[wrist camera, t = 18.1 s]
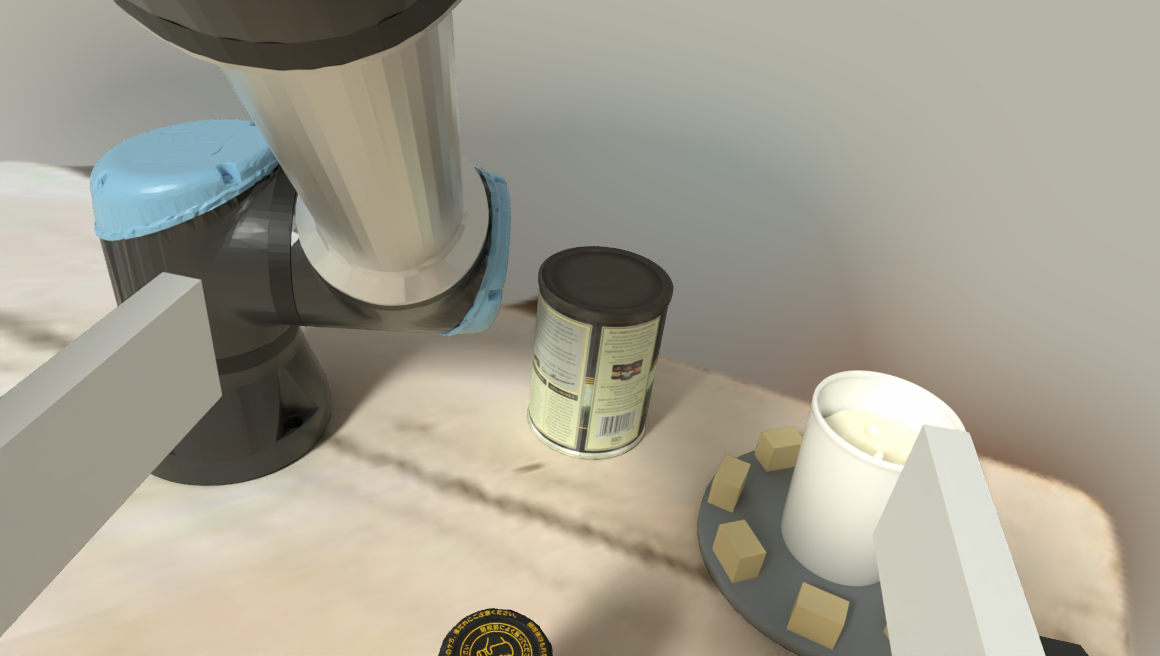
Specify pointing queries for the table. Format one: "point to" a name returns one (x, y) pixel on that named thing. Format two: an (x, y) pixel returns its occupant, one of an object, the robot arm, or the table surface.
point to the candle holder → (853, 469)
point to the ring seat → (780, 560)
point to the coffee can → (596, 349)
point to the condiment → (496, 636)
